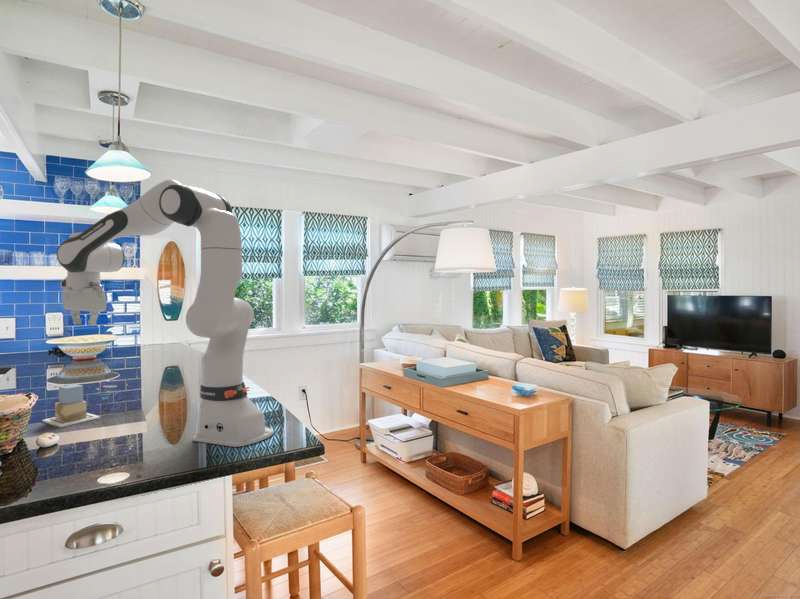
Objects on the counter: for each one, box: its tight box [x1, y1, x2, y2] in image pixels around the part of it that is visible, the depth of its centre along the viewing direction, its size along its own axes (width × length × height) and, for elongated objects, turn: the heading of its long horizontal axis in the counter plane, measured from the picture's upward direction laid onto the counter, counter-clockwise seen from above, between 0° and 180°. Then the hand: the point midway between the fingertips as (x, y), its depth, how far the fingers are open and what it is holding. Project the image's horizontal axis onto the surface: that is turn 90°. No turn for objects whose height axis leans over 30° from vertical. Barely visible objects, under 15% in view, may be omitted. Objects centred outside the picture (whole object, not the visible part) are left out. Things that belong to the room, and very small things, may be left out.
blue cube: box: [58, 383, 84, 405], centre depth 142 cm, size 5×5×5 cm
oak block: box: [54, 400, 88, 422], centre depth 142 cm, size 6×6×5 cm
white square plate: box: [42, 412, 101, 428], centre depth 143 cm, size 11×11×1 cm
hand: (84, 324), depth 149 cm, fingers open, 8 cm apart
